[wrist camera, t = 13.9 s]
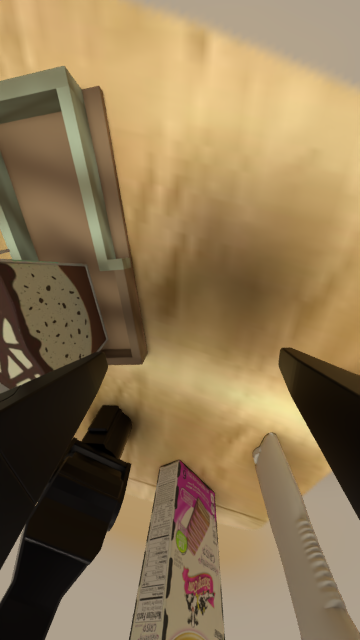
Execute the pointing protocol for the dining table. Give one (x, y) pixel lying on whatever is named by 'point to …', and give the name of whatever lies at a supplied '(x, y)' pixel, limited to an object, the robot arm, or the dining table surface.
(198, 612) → the candy bar box
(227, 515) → the dining table surface
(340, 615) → the light grey flat bottle
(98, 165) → the green flat tray
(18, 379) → the food container
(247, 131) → the dining table surface
